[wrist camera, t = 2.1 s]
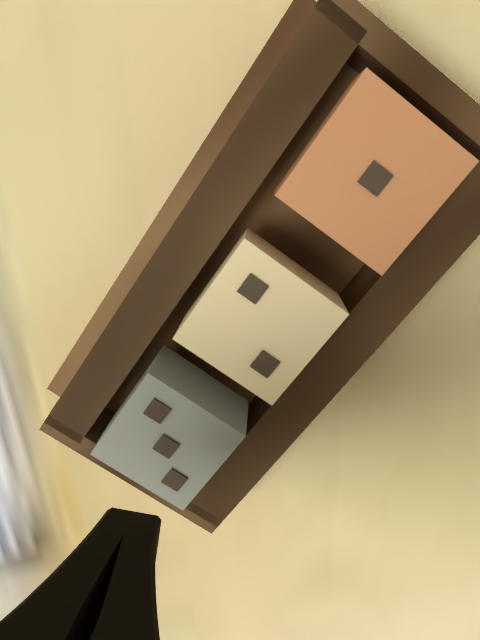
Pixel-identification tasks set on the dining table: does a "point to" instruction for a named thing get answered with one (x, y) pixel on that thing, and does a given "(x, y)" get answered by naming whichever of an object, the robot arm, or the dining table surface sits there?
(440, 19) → the dining table surface
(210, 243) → the wooden tray
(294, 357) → the key two cream
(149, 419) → the key three slate
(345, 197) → the key one terracotta
